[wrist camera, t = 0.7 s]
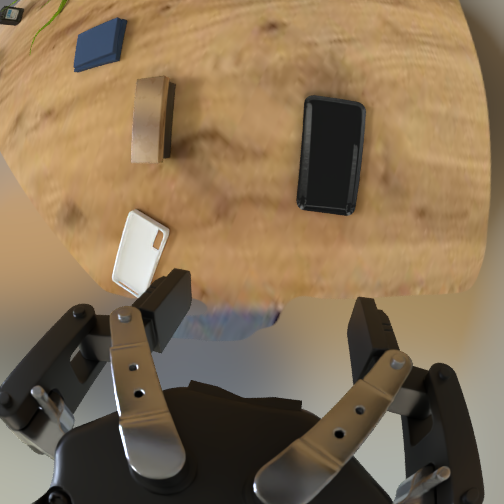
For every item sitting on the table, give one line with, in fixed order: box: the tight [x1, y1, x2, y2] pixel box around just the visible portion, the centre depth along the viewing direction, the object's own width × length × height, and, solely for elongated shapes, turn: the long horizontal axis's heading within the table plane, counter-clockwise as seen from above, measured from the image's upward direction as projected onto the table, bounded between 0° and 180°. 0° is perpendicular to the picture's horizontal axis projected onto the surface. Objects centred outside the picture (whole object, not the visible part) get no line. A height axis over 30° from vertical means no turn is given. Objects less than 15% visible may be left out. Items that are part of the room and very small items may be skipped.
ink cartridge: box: [0, 6, 24, 26], centre depth 22 cm, size 5×2×8 cm, turn 178°
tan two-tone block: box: [131, 76, 176, 164], centre depth 32 cm, size 12×4×4 cm, turn 175°
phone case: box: [112, 209, 169, 298], centre depth 43 cm, size 7×1×15 cm
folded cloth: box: [74, 17, 127, 72], centre depth 29 cm, size 8×10×2 cm
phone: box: [297, 95, 366, 216], centre depth 32 cm, size 8×1×15 cm
